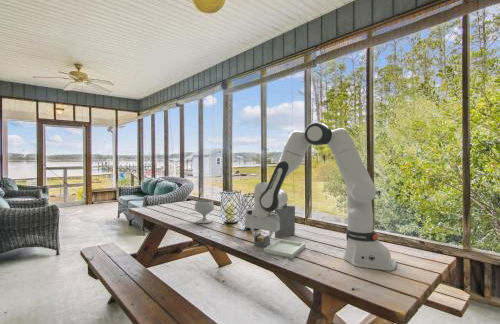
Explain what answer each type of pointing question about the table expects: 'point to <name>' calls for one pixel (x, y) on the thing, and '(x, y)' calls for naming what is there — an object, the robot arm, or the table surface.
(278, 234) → the hip flask
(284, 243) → the tray
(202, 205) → the chalice
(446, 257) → the table surface
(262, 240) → the block
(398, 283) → the table surface
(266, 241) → the caddy
